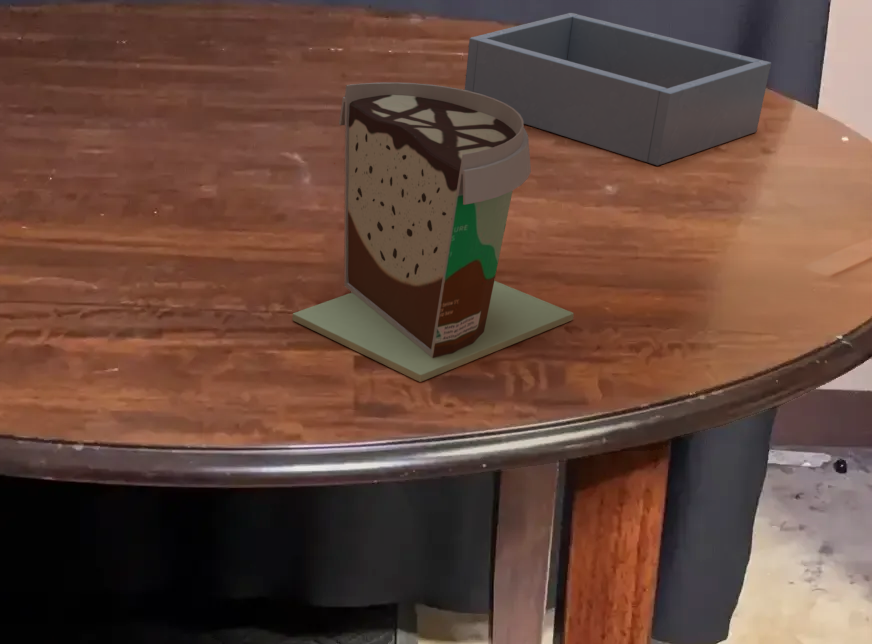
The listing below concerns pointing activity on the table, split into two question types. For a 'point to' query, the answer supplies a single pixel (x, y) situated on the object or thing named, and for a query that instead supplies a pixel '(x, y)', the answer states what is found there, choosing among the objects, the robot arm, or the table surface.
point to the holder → (619, 86)
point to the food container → (428, 205)
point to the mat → (382, 342)
